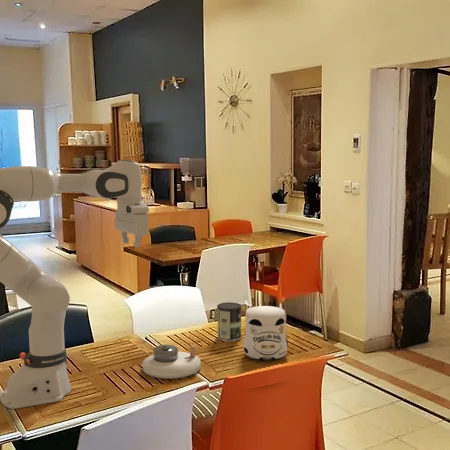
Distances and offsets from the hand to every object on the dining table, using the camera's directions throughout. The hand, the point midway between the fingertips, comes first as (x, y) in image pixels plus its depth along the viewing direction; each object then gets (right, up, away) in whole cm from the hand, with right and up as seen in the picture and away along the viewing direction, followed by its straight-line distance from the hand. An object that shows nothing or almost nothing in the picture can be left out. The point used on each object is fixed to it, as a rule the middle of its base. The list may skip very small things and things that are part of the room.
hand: (131, 245), depth 204 cm
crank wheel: (+14, -46, +7) cm, 48 cm away
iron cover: (+11, -42, +10) cm, 45 cm away
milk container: (+49, -44, +19) cm, 69 cm away
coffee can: (+35, -41, +41) cm, 68 cm away
